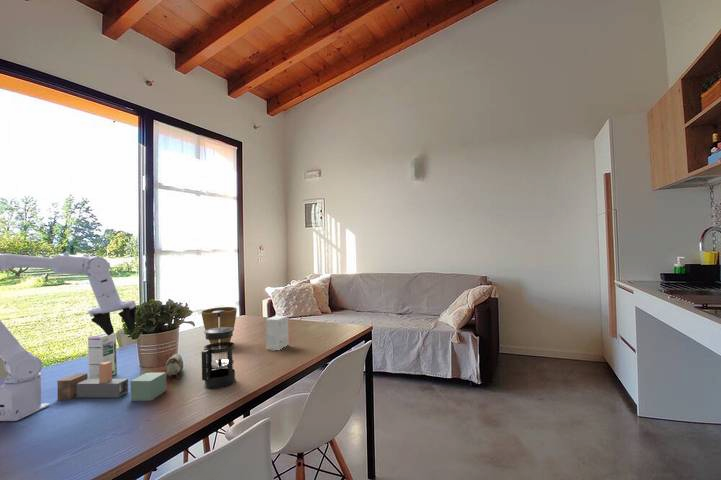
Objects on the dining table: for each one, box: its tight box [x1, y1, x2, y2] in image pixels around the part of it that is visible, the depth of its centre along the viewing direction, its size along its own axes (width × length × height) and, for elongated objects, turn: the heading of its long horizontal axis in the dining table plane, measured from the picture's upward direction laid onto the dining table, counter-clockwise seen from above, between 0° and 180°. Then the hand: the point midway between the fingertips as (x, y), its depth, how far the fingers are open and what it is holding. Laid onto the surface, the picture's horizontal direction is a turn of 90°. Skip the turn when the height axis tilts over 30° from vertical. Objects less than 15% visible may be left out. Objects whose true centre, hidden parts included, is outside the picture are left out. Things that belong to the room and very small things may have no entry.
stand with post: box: [76, 362, 129, 399], centre depth 107 cm, size 13×4×9 cm, turn 86°
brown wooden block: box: [56, 372, 89, 401], centre depth 108 cm, size 4×6×6 cm, turn 176°
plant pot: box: [200, 306, 238, 348], centre depth 161 cm, size 15×15×16 cm
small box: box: [264, 315, 290, 351], centre depth 154 cm, size 8×6×13 cm
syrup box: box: [87, 332, 118, 379], centre depth 124 cm, size 6×6×14 cm
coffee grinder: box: [201, 310, 237, 390], centre depth 114 cm, size 12×9×23 cm
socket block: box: [130, 371, 167, 401], centre depth 106 cm, size 6×7×6 cm
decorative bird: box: [164, 353, 184, 382], centre depth 124 cm, size 5×16×8 cm, turn 22°
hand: (121, 331), depth 116 cm, fingers open, 7 cm apart
